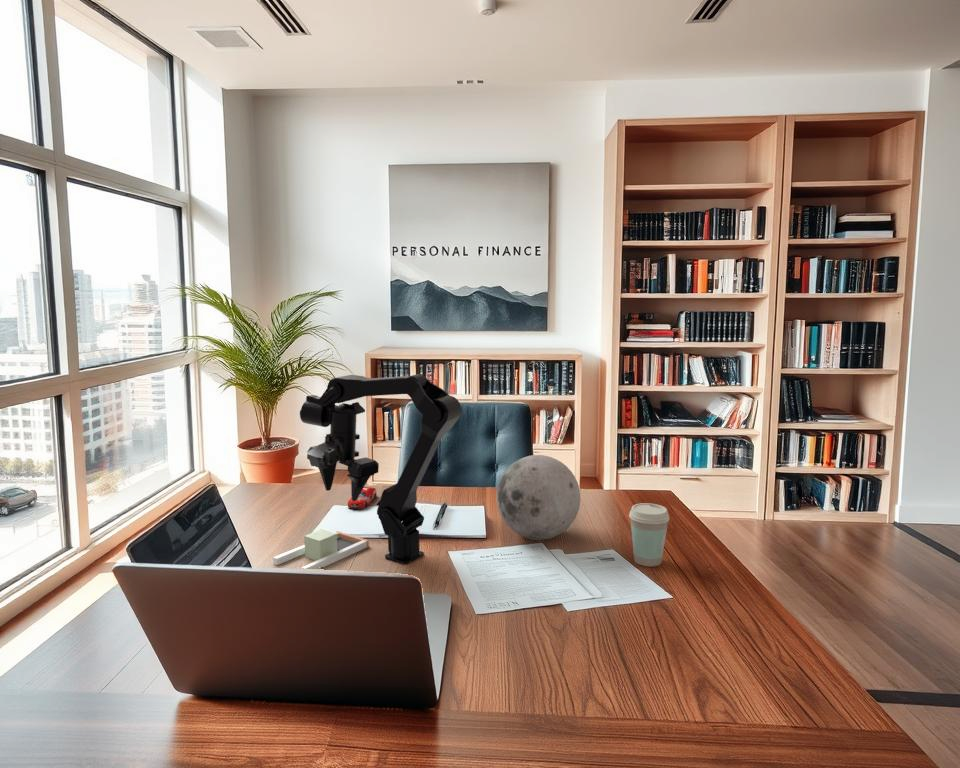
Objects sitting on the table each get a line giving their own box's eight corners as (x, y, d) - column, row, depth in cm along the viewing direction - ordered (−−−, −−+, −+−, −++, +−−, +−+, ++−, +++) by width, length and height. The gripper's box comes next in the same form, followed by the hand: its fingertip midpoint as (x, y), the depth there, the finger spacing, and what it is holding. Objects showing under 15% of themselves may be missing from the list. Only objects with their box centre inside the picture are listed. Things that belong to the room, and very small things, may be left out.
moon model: (577, 523, 164) (578, 447, 161) (582, 554, 144) (583, 468, 142) (499, 521, 166) (499, 445, 163) (493, 551, 146) (493, 466, 144)
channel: (366, 547, 149) (366, 541, 149) (305, 575, 134) (305, 568, 134) (335, 538, 155) (335, 532, 155) (273, 564, 140) (273, 557, 140)
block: (337, 554, 145) (336, 533, 145) (320, 562, 141) (319, 540, 141) (322, 549, 148) (321, 529, 147) (305, 557, 144) (304, 536, 143)
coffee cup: (669, 570, 136) (671, 516, 134) (628, 567, 138) (629, 513, 136) (666, 554, 144) (668, 503, 142) (627, 552, 146) (628, 501, 144)
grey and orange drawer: (368, 546, 150) (368, 540, 150) (350, 554, 145) (350, 548, 145) (337, 537, 156) (337, 531, 155) (319, 544, 151) (319, 538, 151)
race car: (363, 512, 174) (363, 497, 174) (344, 510, 175) (344, 496, 175) (379, 496, 187) (379, 483, 187) (362, 495, 188) (361, 482, 188)
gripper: (288, 427, 146) (287, 492, 148) (342, 445, 134) (340, 515, 137) (327, 420, 154) (325, 482, 157) (381, 436, 143) (378, 503, 146)
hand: (341, 495), depth 149 cm, fingers open, 9 cm apart
